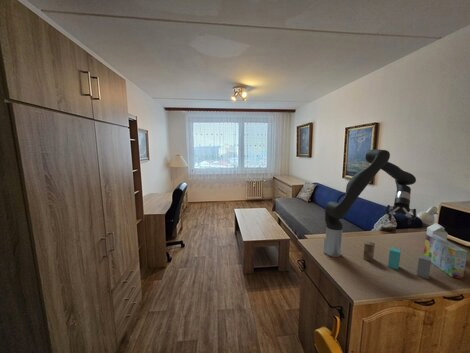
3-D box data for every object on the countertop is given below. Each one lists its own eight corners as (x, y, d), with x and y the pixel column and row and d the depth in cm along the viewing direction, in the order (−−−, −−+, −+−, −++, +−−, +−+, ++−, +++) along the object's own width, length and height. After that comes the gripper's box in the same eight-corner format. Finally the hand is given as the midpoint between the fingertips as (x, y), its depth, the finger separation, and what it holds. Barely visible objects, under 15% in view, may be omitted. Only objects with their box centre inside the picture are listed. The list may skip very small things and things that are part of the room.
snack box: (464, 279, 102) (469, 251, 100) (451, 277, 103) (455, 250, 101) (432, 257, 122) (435, 234, 120) (422, 256, 123) (425, 233, 121)
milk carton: (429, 253, 126) (433, 225, 124) (424, 248, 133) (427, 221, 131) (444, 256, 124) (448, 226, 121) (438, 250, 130) (442, 222, 128)
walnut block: (363, 258, 120) (364, 243, 119) (364, 256, 124) (366, 240, 122) (372, 261, 117) (373, 245, 116) (373, 258, 121) (374, 243, 119)
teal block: (388, 266, 112) (389, 250, 111) (388, 263, 116) (390, 247, 114) (398, 269, 109) (400, 252, 108) (398, 266, 113) (400, 249, 111)
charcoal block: (416, 275, 104) (418, 257, 103) (416, 271, 108) (418, 254, 106) (428, 279, 101) (431, 260, 100) (428, 275, 105) (430, 257, 103)
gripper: (388, 195, 129) (384, 216, 122) (417, 198, 120) (415, 222, 113) (388, 201, 134) (384, 222, 127) (416, 205, 124) (414, 228, 117)
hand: (399, 222), depth 120 cm, fingers open, 8 cm apart
